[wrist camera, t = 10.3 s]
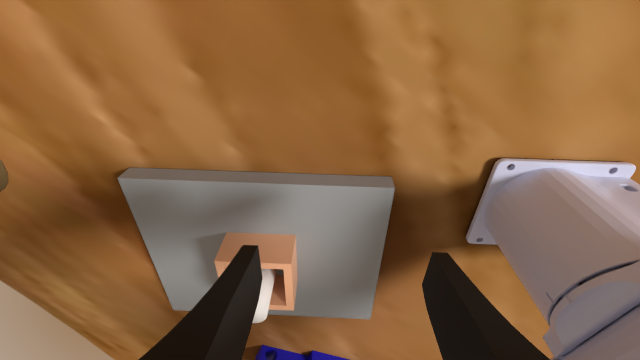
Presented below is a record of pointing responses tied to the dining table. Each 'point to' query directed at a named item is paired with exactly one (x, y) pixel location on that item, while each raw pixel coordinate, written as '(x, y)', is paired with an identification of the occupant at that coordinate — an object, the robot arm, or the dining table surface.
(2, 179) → the cork
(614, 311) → the robot arm
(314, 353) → the cable clip
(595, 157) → the dining table surface
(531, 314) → the dining table surface
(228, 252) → the collar
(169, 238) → the post board
